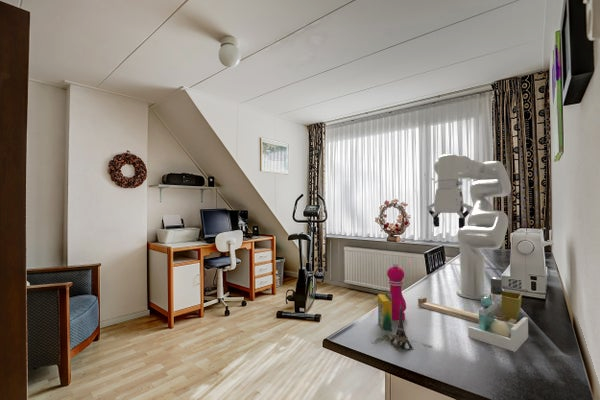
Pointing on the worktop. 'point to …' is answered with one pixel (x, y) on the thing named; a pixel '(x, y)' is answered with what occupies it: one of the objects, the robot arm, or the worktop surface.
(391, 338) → the eiffel tower figurine
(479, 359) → the worktop surface
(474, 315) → the oak rail
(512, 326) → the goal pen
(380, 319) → the crayon box
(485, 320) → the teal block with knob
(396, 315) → the pepper mill
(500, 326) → the ball
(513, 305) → the flower pot
